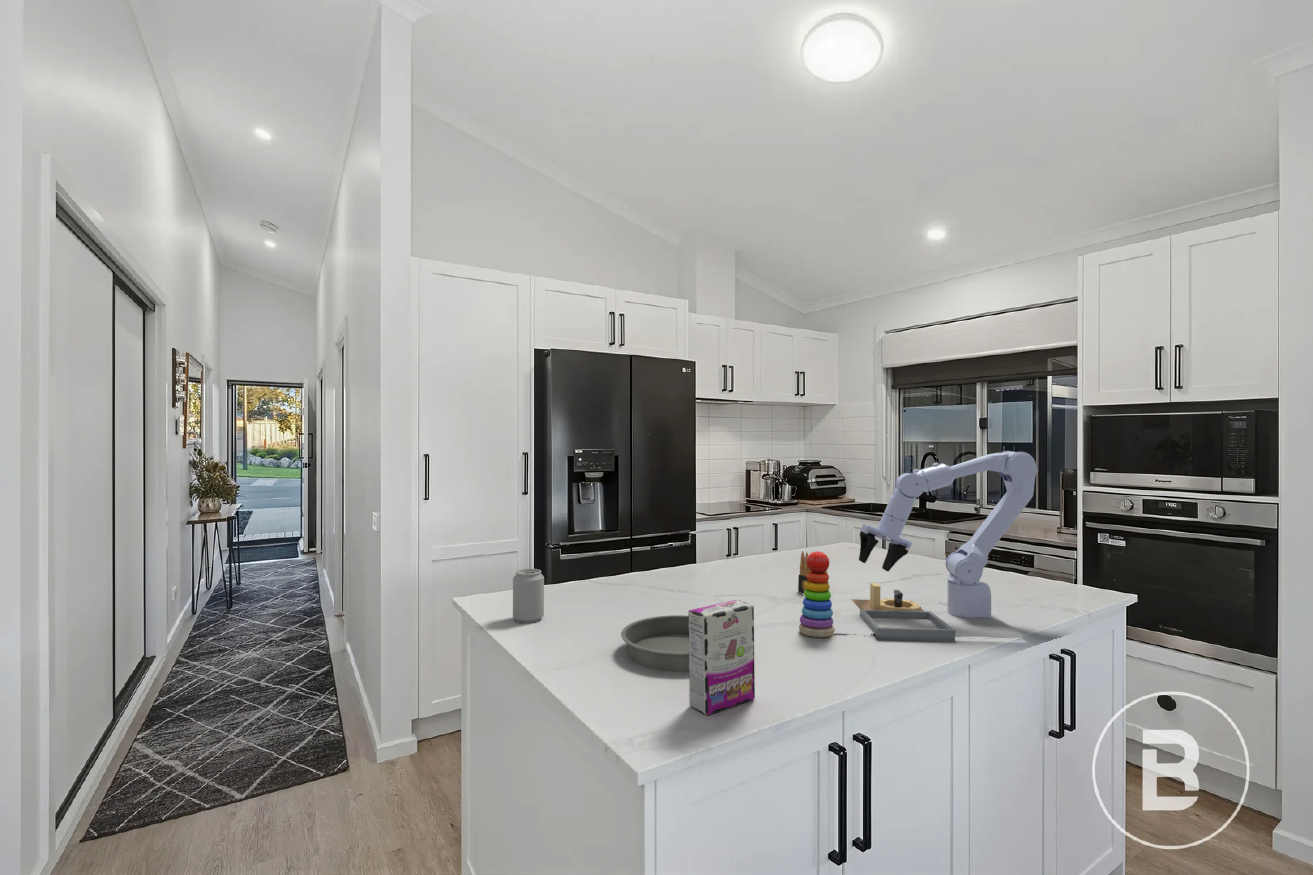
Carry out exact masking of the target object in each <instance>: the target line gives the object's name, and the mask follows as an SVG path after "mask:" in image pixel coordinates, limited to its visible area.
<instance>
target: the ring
mask: <svg viewBox="0 0 1313 875" xmlns="http://www.w3.org/2000/svg"><path fill="white" fill-rule="evenodd" d="M869 588H870V590H869V591H870V592H869V594H870V595H869V596H870V597H869V600H870V606H871V607H872V608H873V609H874V610H896V611H921V608H922V606H921V605H920V604H919V603H917V602H916V601H912V600H907V599H904V598H902V606H907V607H908V608H907V607H893V606H889V605H894V598H882V599H881V586H880V584H878V583H876V582H870V584H869Z"/></svg>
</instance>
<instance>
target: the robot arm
mask: <svg viewBox="0 0 1313 875" xmlns="http://www.w3.org/2000/svg"><path fill="white" fill-rule="evenodd" d="M912 471H913V473H909V472H905V473H902V474H901V475H899V477H897V479H895V480H894V488H895V489H894V490H893V492H892V495H891V497H890V498H889V501H888V503H887V505H886V507H885V510H884V513H883V514H882V517H881V518H880V521H879V523H878V525H877V527H874V526H871V525H868V524H865V523H863V524H862V526H861V528H860V532H859V538H860V548H859V551H860V552H859V555H858V556H859V557H858V561H859V562H861V563H863V564H866V563H867V561H868V560H869V557H870V555H871V553H872V551H873V550H874V548H875V547H876V546H877V544H878V543H879V542H880V541H879V540H878V539H880V540H884V541H886V542H888V548H887V552H886V555H885V558H884V561H883V563H882V566H881V569H882V570H884V571H886V572H888V573H889V572H890V571H891V569H892V568H893V567H894V566H895V565H896V564H897V563H898V561H899V560H901V559H902V558H903V557H905V556H906V555H908V553H909V550H910V548H911V546H912V545H913V542H911V541H910V540H907V539H905V538H903V537H901V534H902V532H903V530H904V529H905V528H904V527H905V526H906V524H907V522H908V518H909V516H910V515H911V512H912V510H913V508H914V504H915V501H916V500H917V497H920V496H921V495H922V494H923V493H927V492H931V491H934V490H938V489H941V488H942V489H943V488H945V487H949V486H952V485H953V482H954V481H955V479H958V478H962V477H966V476H967V477H968V476H970V475H975V474H978V473H982V472H986V471H990V472H997V473H998V474H999V475H1000V477H1001V478H1002V479H1003V483H1004V486H1005V489H1006V492H1005V494H1004V495H1003V496H1002V497H1001V499H1000V500H999V501H998V502H997V504H996V505H995V506H994V507H993V509H992V510H991V512H990V513H989V514H988V516H987V517H986V519H985V520H983V522H982V524H981V525H980V526H979V527H978V528H977V530H976V531H975V532H974V533H973V535H972V536H971V538H970V539H968V541H967V542H965V543H964V544H962V545H960V547H959V548H958V549H956V551H954V552H952V553H950V554H948V556H947V557H946V559H945V568H946V570H947V572H949V574H948V577H947V606H946V607H947V608H946V609H947V610H946V611H947V613H948V614H950V615H951V616H955V617H961V618H973V619H974V618H992V593H991V592H992V591H991V588H990V585H989V584H988V583H987V582H983V581H980V580H981V577H983V571H984V568H985V566H986V565H987V564H988V557H989V554H990V553H991V551H992V550H993V549H994V548H995V546H996V545H997V543H998V542H999V541H1000V539H1002V537H1003V536H1004V534H1005V533H1006V532H1007V530H1009V528H1010V527H1011V526H1012V524H1013V523H1014V521H1015V520H1017V518H1018V517H1019V515H1020V514H1021V513H1022V511H1023V510H1024V509H1025V508H1026V506H1027V505H1028V504H1029V502H1030V501H1031V500H1032V498H1033V497H1034V492H1035V481H1036V476H1037V474H1038V472H1039V469H1038V466H1037V464H1036V461H1035V458H1034V457H1033V456H1032V455H1031V454H1030V453H1028V452H1025V451H1012V450H1004V451H1001V452H995V453H989V454H984V455H982V456H979V457H975V458H973V459H970V460H967V461H965V462H964V461H963V462H960V463H958V464H957V463H956V464H955V465H951V466H950V465H947V464H945V463H939V462H934V463H932V466H929V467H926V468H921V469H918V468H916V469H913V470H912ZM877 538H878V539H877Z"/></svg>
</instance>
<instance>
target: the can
mask: <svg viewBox="0 0 1313 875" xmlns="http://www.w3.org/2000/svg"><path fill="white" fill-rule="evenodd" d="M544 616H545V577H544V575H543V574H542V570H541V569H538V568H522V569H518V570H516V571H515V575H514V576H513V578H512V618H513V619H514V620H515V621H516V622H517V623H523V624H525V623H527V624H528V623H529V624H530V623H536V622H539V621H540V620H541V619H542V618H543V617H544Z"/></svg>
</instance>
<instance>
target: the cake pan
mask: <svg viewBox="0 0 1313 875" xmlns="http://www.w3.org/2000/svg"><path fill="white" fill-rule="evenodd" d="M620 637H621V639H622V640H623V642H624V643H626V646H627V649H628V653H629V656H630V658H631V659H632V660H633V661H634V662H636V663H638V664H641V665H643V666H645V667H649V668H653V669H656V670H657V669H658V670H663V671H672V672H673V671H675V672H677V671H678V672H689V616H688V615H681V614H680V615H678V614H677V615H676V614H675V615H673V614H672V615H671V614H670V615H657V616H652V617H647V618H642V619H639V620H636V621H633V622H631V623H629V624H627V625H626V626H625V627H623V629H622V630H621V633H620Z"/></svg>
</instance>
